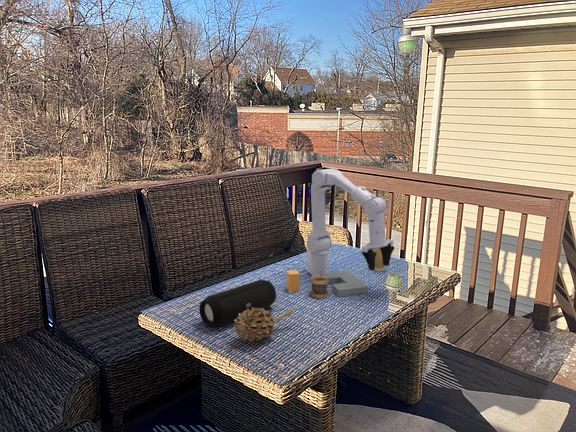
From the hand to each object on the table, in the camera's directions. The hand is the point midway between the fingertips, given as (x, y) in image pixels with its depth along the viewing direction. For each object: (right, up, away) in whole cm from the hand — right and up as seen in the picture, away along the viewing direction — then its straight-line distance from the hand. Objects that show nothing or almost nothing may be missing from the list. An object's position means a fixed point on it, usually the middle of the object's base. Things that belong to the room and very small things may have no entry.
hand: (379, 267), depth 168 cm
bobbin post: (-22, -10, +2) cm, 24 cm away
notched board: (-12, -8, +10) cm, 18 cm away
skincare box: (+5, -4, +29) cm, 29 cm away
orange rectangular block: (-32, -9, +6) cm, 33 cm away
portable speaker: (-50, -15, -16) cm, 54 cm away
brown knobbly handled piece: (-40, -17, -29) cm, 52 cm away
